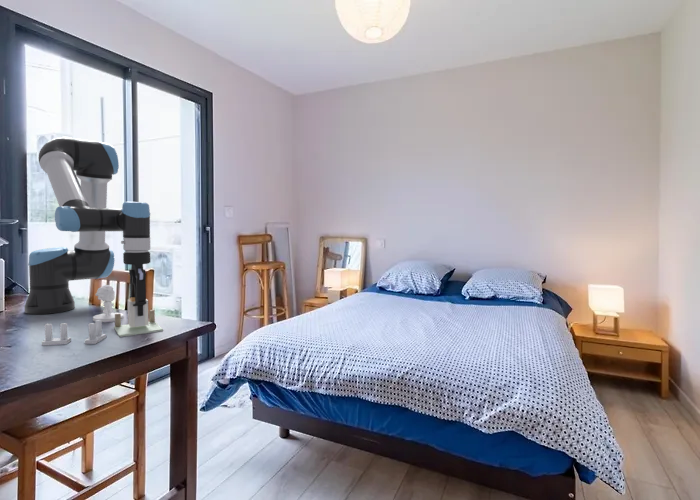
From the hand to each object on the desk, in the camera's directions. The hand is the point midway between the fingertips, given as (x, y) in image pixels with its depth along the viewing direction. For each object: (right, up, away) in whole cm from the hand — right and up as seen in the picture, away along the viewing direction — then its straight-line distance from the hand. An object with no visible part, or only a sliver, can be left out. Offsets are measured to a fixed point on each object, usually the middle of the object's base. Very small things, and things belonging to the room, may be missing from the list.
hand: (138, 323), depth 125 cm
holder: (0, -2, 0) cm, 2 cm away
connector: (0, 0, 0) cm, 0 cm away
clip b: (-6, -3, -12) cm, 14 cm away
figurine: (-17, -1, +12) cm, 21 cm away
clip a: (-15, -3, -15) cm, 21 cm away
